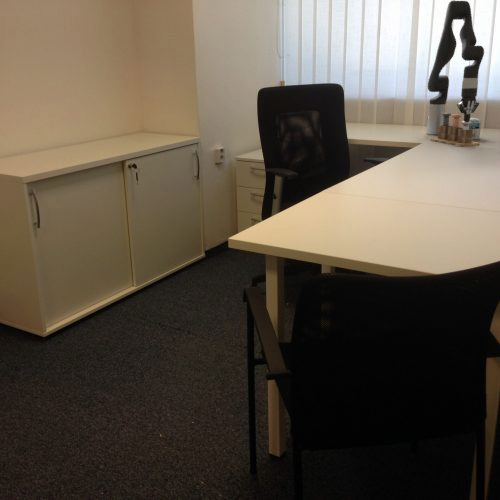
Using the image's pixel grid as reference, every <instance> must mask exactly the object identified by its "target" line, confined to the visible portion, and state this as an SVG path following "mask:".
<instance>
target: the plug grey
mask: <svg viewBox="0 0 500 500" xmlns="http://www.w3.org/2000/svg"><path fill="white" fill-rule="evenodd" d="M461 124H462V128H463V130H469V124H471V121H469V122H465V121H463V120H462V121H461Z"/></svg>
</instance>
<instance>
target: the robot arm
mask: <svg viewBox="0 0 500 500" xmlns="http://www.w3.org/2000/svg"><path fill="white" fill-rule="evenodd" d="M471 10H472V9H471V4H470V2H469V1H467V0H451V1H450V2H448V5H447V7H446V11H445V16H444V23H443V28H442V32H441V35H440V36H441V37H440V38H439V43H438V46H437V51H436V53H435V54H436V55H435V59H434V63H433V67H432V68H431V72H430V73H429V74H430V75H429V78H428V82H427V90H428V91H429V92H430V93H438V94H437V95H435V96H433V97H431V98H430V99H429V108H428V117H427V121H426V122H427V123H426V134H427V135H437V136H438V130H439V126H441V125H443V117H444V116H442V113H446V109H447V108H446V107H447V100H448V94H449V87H450V86H449V85H450V79H449V76H448V75H447V74H442V75H440V74H441V72H442V70H443V69H444V67H446V65H447V64H448V63H449V62H450V61H451V60H452V59H453V57H454V55H455V52H456V49H457V39H456V36H455V34H454V30H453V21H455V20H457V21H459V20H463V25H462V26H461V28H460V30H459V39H460V43H461V58H462V59H463V61H467V62H468V61H469V62H470V61H473V62H472V64H470V65H469V64H468V65H466V66H464V69H463V75H462V76H463V77H462V81H461V82H462V83H461V93H460V94H461V99H460V102H459V103H456V106H457V108H458V110H459V111H460V114H463V119H464V121H465V122H469V120H470V118H471V115H472V114H474V113H475V111H476V110H477V108H478V107H479V105H480V102H478V101H477V98H476V97H477V95H478V87H479V69H480V67H481V63H482V62H483V58H484V56H485V49H484V47H483V46H482V45H476V44H477V36H476V34H475V30H474V27H473V26H474V25H473V18H472V11H471Z"/></svg>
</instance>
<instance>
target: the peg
mask: <svg viewBox="0 0 500 500" xmlns="http://www.w3.org/2000/svg"><path fill="white" fill-rule="evenodd" d="M442 116H444V117H443V126H449V124H450V117H452V113H451V112H445V113H442Z"/></svg>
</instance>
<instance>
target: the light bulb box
mask: <svg viewBox="0 0 500 500" xmlns="http://www.w3.org/2000/svg"><path fill="white" fill-rule="evenodd" d="M462 121H464V118H463V120H462ZM469 121H471V124H469V129H473V137H472V141H473V140H480V137H481V129H482V127H481V126H482V119H480V118H476V117H470V120H469Z"/></svg>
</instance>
